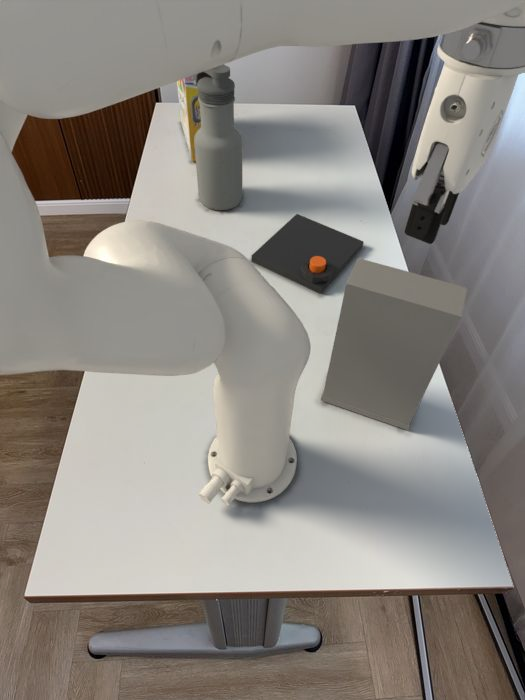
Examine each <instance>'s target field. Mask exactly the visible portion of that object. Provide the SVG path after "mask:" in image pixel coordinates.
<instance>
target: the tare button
mask: <svg viewBox="0 0 525 700" xmlns="http://www.w3.org/2000/svg"><path fill="white" fill-rule="evenodd" d="M325 267H326V260H325V259H324V258H323V257H321V256H314V257H312V258H311V259H310V265H309V269H310V271H312V272H314V273H322V272H324V271H325Z"/></svg>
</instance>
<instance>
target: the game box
mask: <svg viewBox="0 0 525 700" xmlns="http://www.w3.org/2000/svg"><path fill="white" fill-rule="evenodd" d="M176 86H177V97H178V104H179V114H180V123H181V126H182V130H183V134H184V137H185V142H186V144H187V149H188V153H189V156H190V159H191V162H196V157H195V144H194V138H195V134H196V133H197V131H198V130H199V129H200V128H201V122H200V123H195V122H194V121H193V120H192V118H191V106H190V101H191V99H192V98H193V97H194V96H197V95H198V91H197V90H198V89H197V86H195V85H194V83H193V75H192V76H190V77H187V78H184V79H181V80H179V81H176ZM195 117H196V118H197V119H199V118H201V115H200V103H199V101H198V100H197V101H196V103H195Z"/></svg>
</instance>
